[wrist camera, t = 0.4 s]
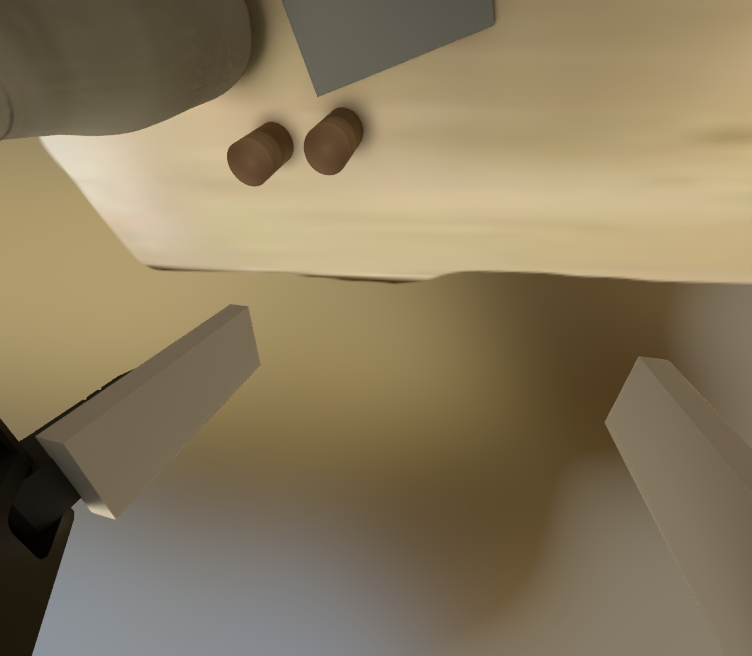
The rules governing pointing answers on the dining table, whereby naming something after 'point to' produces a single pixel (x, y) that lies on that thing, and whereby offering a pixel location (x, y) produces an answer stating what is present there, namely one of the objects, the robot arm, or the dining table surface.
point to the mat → (376, 33)
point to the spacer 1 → (260, 153)
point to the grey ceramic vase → (114, 62)
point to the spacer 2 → (333, 141)
